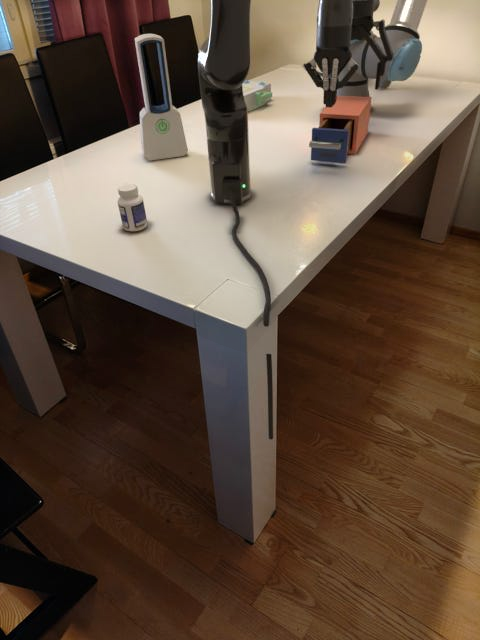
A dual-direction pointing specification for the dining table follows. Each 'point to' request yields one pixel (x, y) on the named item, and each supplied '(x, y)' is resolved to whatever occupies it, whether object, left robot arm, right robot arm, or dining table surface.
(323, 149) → the drawer
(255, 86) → the decorative block
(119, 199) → the pill bottle
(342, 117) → the cabinet
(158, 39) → the electronic device
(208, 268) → the dining table surface
